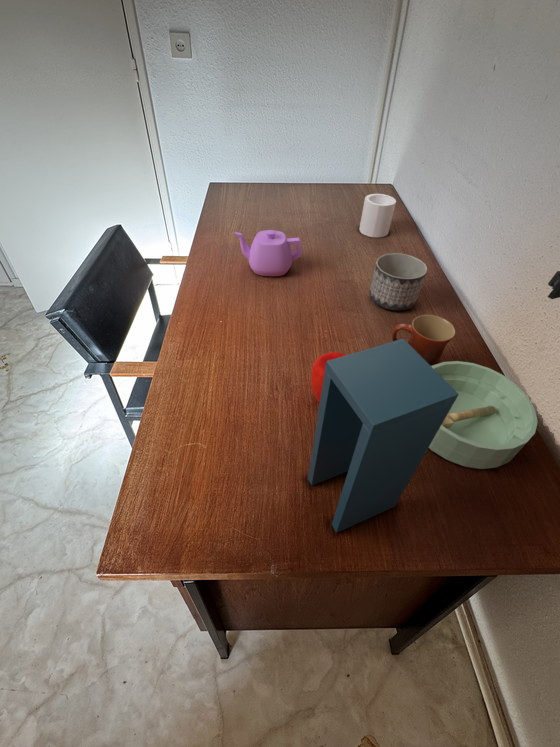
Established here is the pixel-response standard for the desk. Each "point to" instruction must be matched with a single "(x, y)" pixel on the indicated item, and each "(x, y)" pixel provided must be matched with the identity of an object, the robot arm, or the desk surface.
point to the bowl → (484, 417)
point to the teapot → (270, 252)
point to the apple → (321, 372)
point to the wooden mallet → (467, 415)
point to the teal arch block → (376, 426)
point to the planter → (397, 281)
